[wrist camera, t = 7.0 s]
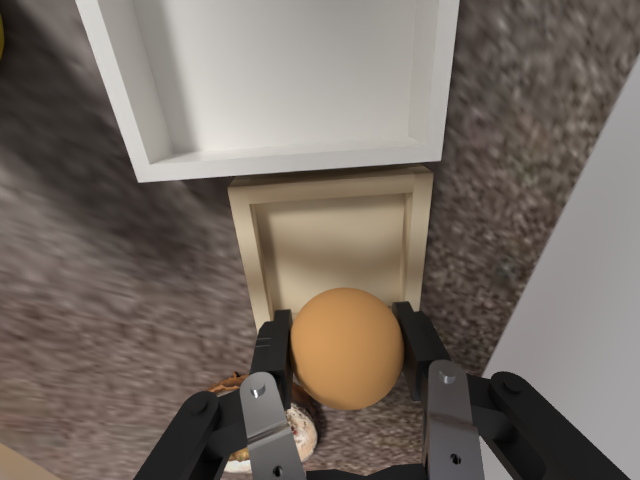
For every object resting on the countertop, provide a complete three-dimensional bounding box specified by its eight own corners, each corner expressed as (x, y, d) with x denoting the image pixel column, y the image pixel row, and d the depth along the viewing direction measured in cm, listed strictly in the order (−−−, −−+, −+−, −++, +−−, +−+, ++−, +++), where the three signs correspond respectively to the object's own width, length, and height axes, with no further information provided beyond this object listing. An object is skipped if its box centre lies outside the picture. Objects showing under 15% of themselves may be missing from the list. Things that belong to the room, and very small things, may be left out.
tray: (236, 176, 18) (227, 187, 16) (419, 163, 18) (433, 172, 16) (263, 318, 23) (259, 340, 21) (407, 308, 23) (417, 329, 21)
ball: (286, 270, 14) (275, 351, 10) (391, 262, 14) (427, 340, 10) (296, 347, 17) (291, 442, 12) (387, 341, 17) (415, 433, 12)
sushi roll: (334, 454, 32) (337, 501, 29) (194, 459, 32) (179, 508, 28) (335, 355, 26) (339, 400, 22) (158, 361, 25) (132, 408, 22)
